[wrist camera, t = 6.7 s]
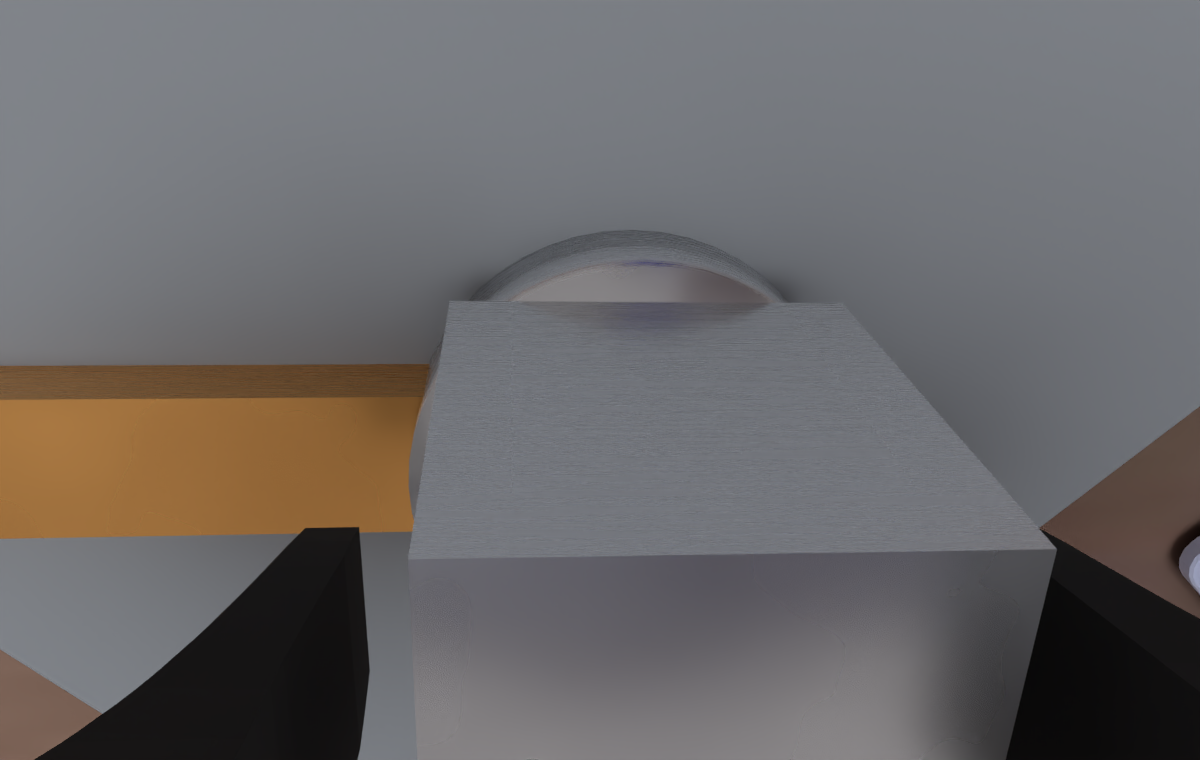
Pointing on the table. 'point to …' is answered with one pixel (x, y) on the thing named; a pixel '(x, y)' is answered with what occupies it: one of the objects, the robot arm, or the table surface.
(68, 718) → the table surface
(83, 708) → the table surface
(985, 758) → the brushed metal cube
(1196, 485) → the table surface
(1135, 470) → the table surface
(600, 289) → the scoop
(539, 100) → the mat
